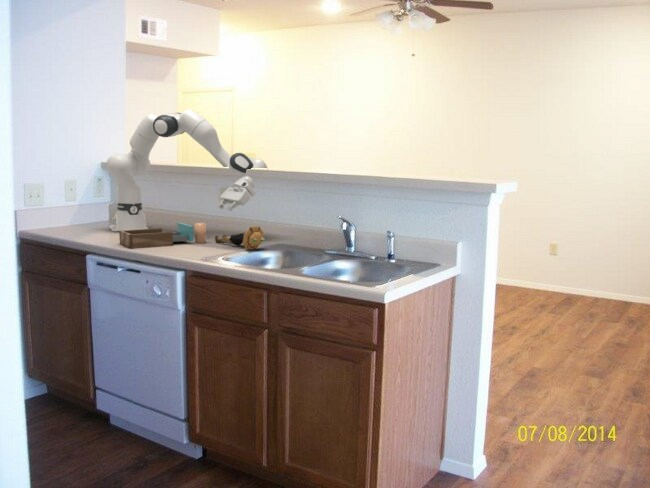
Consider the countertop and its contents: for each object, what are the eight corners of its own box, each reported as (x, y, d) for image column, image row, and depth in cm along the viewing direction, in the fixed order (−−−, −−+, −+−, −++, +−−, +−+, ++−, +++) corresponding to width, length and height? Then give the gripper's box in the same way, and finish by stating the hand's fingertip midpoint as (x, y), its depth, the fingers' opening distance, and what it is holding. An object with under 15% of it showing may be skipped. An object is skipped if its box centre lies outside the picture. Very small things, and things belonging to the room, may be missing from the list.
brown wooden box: (119, 244, 278) (119, 230, 277) (161, 241, 289) (160, 228, 288) (130, 248, 267) (129, 234, 266) (172, 245, 278) (172, 232, 277)
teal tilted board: (140, 239, 284) (139, 224, 283) (179, 236, 295) (179, 222, 294) (152, 244, 272) (151, 228, 271) (193, 241, 283) (192, 226, 282)
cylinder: (193, 242, 289) (193, 223, 287) (203, 241, 292) (203, 222, 290) (197, 243, 285) (197, 224, 283) (207, 243, 288) (207, 223, 286)
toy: (234, 227, 297) (274, 224, 275) (236, 248, 297) (276, 247, 276) (203, 230, 284) (242, 227, 263) (205, 252, 285) (245, 251, 263)
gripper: (228, 181, 304) (210, 202, 300) (249, 184, 287) (230, 206, 283) (236, 190, 307) (218, 211, 303) (257, 193, 291) (238, 215, 287)
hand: (224, 208), depth 293 cm, fingers open, 8 cm apart
